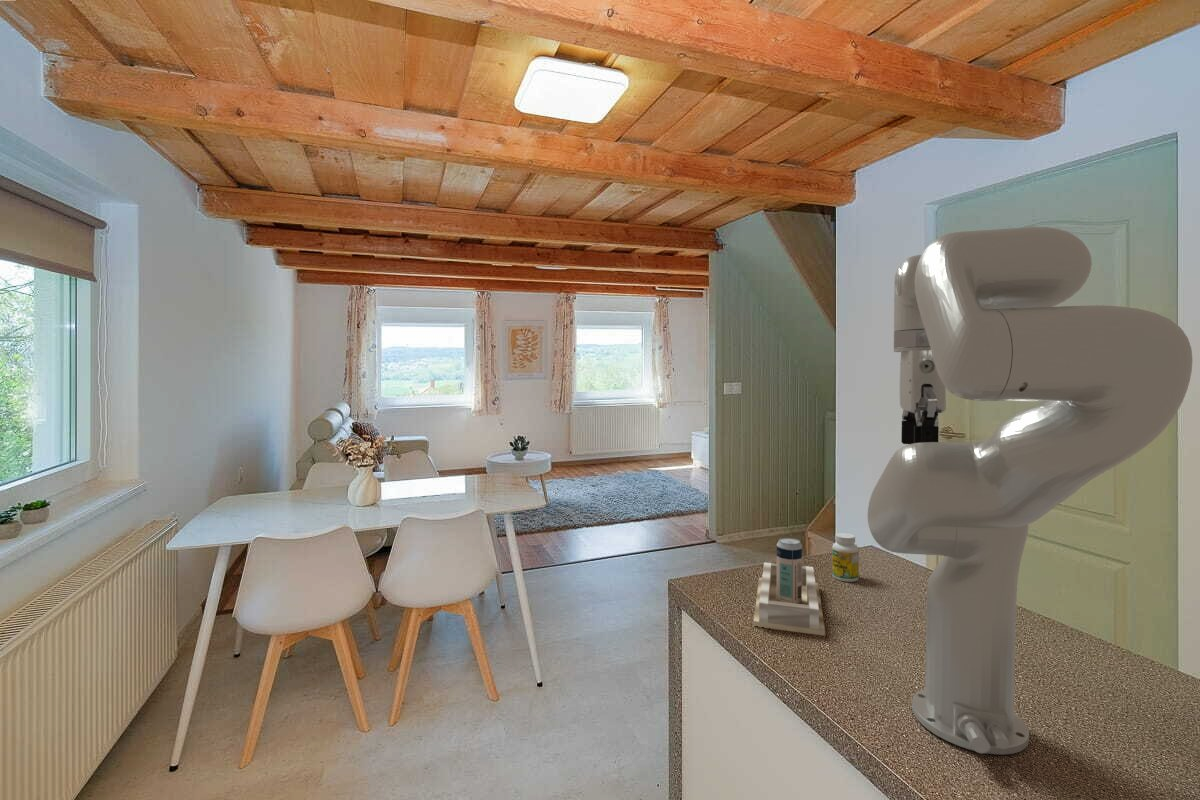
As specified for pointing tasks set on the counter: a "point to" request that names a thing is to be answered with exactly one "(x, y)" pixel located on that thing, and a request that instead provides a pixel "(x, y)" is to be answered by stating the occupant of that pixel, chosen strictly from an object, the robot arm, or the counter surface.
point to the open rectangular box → (789, 604)
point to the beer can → (789, 570)
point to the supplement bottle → (845, 558)
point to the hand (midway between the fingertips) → (918, 447)
